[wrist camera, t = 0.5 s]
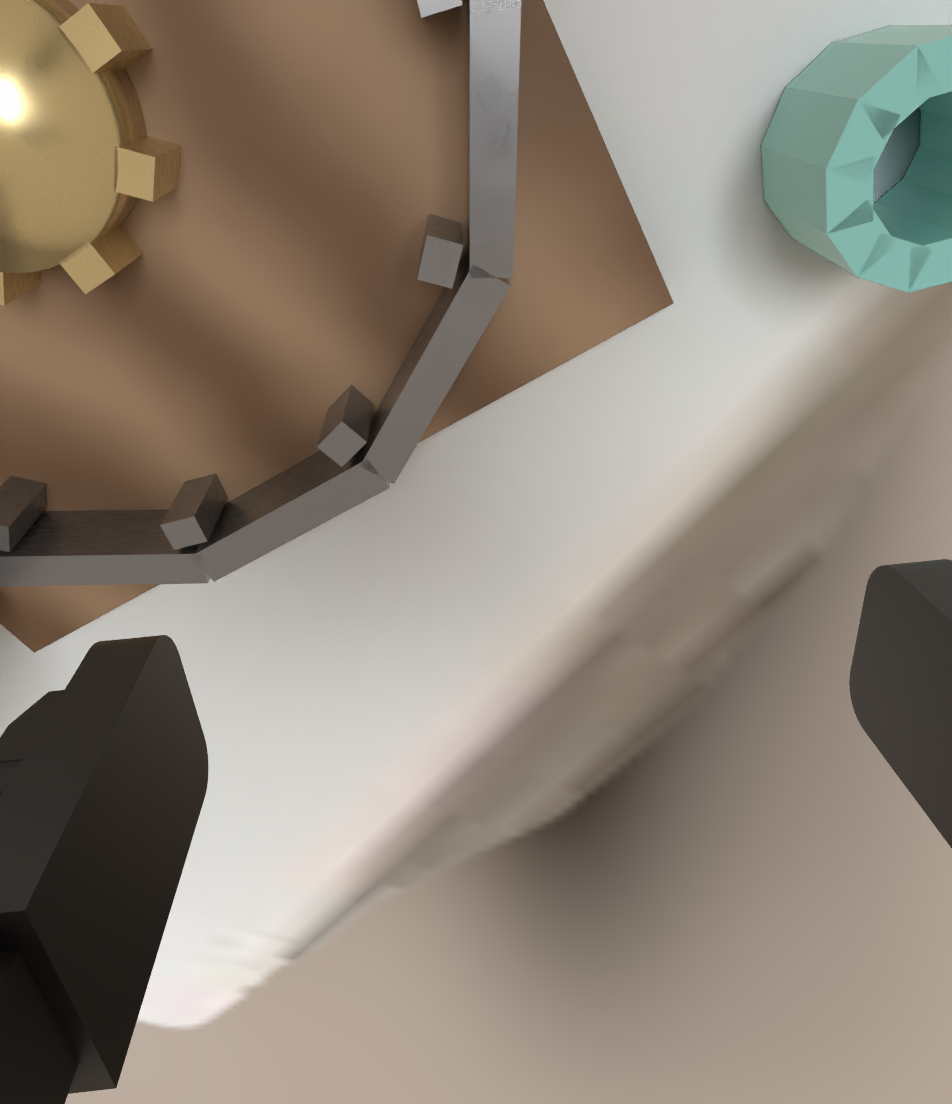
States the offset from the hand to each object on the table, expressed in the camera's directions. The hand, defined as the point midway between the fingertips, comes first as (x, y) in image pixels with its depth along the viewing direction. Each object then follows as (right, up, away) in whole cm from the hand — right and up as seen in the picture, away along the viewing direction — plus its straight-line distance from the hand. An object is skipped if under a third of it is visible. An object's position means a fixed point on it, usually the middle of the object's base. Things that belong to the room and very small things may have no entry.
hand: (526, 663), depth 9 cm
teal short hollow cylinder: (+11, +14, +15) cm, 24 cm away
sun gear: (-13, +13, +13) cm, 23 cm away
